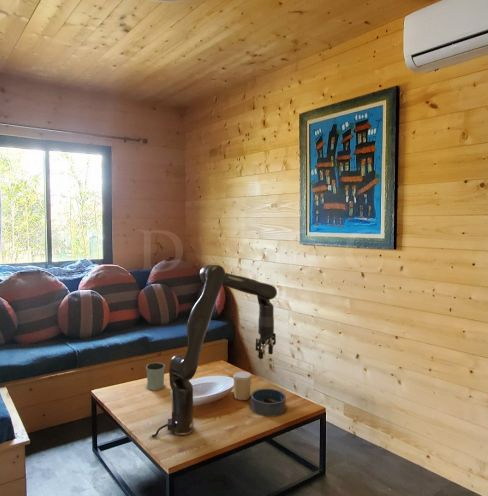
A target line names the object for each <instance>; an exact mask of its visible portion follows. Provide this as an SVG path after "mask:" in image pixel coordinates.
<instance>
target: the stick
mask: <svg viewBox="0 0 488 496" xmlns="http://www.w3.org/2000/svg"><path fill="white" fill-rule="evenodd" d="M264 401H265V402H267V403H276V402H279V401H276V400H273V399H270V398H268V397H265V398H264Z"/></svg>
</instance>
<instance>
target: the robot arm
mask: <svg viewBox="0 0 488 496" xmlns="http://www.w3.org/2000/svg"><path fill="white" fill-rule="evenodd" d="M199 279H200V280H201V282H202V283H203V284H204V288H203V292H202V293H201V295H200V297H199V298H198V300H197V301H196V302H195V304H194V305H193V307H192V309H191V311H190V313H189V316H188V319H187V323H186V334H187V348H186V352H185V355H183V354H181V353H180V354H175V355H174V356H172V358H171V359H170V362H169V366H168V374H169V375H168V376H169V377H168V378H169V386H170V390H171V418H167V423H165V424H164V425H162V426H160V427H158V429H157V430H156V432H155V433H154V434H151V437H152V438H155V437H157V436H158V435H159V432H160V431H161V430H162V429H164V428H167V431H171V435H176V436H186V435H189V434H191V433H192V432H193V431H194V424H195V421H194V386H193V384H192V383H191V381H190V380H192V379H193V378H194V377H195V375H196V373H197V370H198V365H199V362H200V361H199V360H200V357H201V352H202V351H201V350H202V348H203V344H204V341H205V337H206V334H207V331H208V328H209V325H210V322H211V318H212V315H213V311H214V309H215V305H216V302H217V299H218V297H219V294H220V292H221V290H222V287H227V288H230V289H232V290H235V291H238V292H242V293H245V294H249V295H253V296H256V297H257V303H258V307H259V308H258V310H259V311H258V326H257V327H258V329H257V331H258V334H259V338H258V337H256V338H255V351H256V352H257V353H258V354H257V355H258V359H260V360H263V359H264V349H266V346H267V345H268V347H267V349H268V350H267V354H268V355H273V353H274V346H275V345H276V343H277V340H276V339H277V338H276V337H277V335H276V333H275V318H274V316H275V313H274V312H275V311H274V309H275V307H274V304H273V303H272V302H271V300H274V299H275V298H276V297H277V295H278V290H277V288H276V287H275V286H274V285H273V284H269V283H265V282H261V281H258V280H255V279H253V278H250V277H246V276H242V275H236V274H231V273H228V272H226V270H225V268H224V267H223V266H222V265H220V264H206V265H204V266H203V267H202V268H201V269H200V271H199Z"/></svg>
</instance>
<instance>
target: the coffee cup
mask: <svg viewBox="0 0 488 496" xmlns="http://www.w3.org/2000/svg"><path fill="white" fill-rule="evenodd" d="M232 377H233V391H234V392H233V394H234V399H236V400H239V401H247V400H249V399H250V398H251V384H252V383H251V382H252V374H251V373H250V372H249V371H245V370H241V371H239V370H238V371H235V372H234V373H233V376H232Z"/></svg>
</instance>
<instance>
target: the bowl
mask: <svg viewBox="0 0 488 496" xmlns="http://www.w3.org/2000/svg"><path fill="white" fill-rule="evenodd" d="M265 397H268V398H270V399H273V400H276V401H279V402H276V403H267V402H265V401H264V398H265ZM286 403H287V397H286V394H285V393H283V392H282V391H280V390H278V389H274V388H259V389H256V390H253V392H252V393H251V394H250V407H251V408H250V409H251V410H252V411H253V412H254V413H256V414H258V415H261V416H266V417H274V416H275V417H276V416H279V415H282V414H284V412H285V411H286V407H287V406H286Z"/></svg>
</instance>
